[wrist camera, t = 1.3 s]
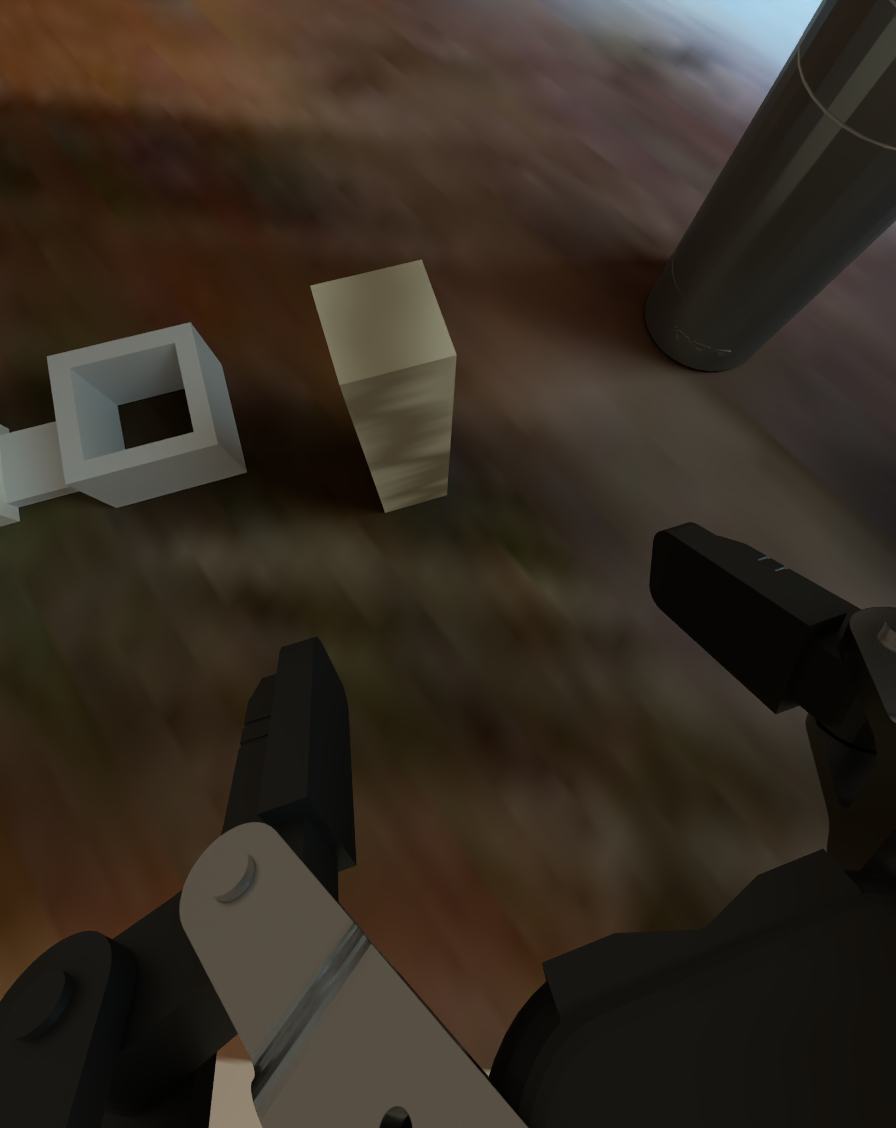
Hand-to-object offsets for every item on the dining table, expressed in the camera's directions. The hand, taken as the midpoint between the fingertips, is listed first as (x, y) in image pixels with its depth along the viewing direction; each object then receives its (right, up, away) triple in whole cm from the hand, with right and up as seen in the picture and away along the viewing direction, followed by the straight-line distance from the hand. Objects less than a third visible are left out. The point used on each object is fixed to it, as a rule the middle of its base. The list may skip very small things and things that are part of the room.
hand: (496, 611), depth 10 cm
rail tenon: (-4, +7, +20) cm, 21 cm away
